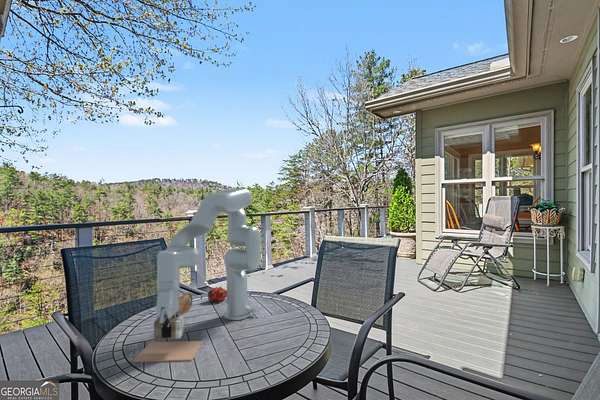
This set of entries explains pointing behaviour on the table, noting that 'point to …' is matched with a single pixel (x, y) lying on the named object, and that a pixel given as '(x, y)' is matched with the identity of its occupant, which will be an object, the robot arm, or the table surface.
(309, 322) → the table surface
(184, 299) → the tin
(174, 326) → the card box
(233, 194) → the robot arm
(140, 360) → the mat
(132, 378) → the table surface
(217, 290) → the dragon fruit
